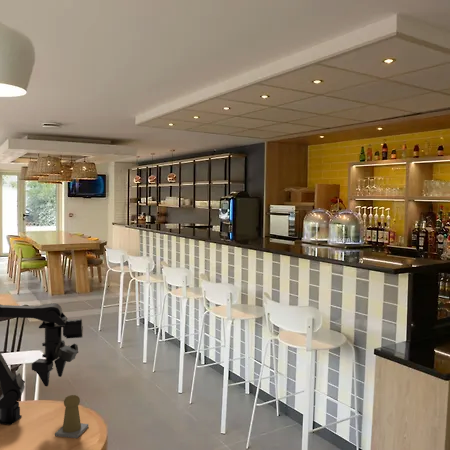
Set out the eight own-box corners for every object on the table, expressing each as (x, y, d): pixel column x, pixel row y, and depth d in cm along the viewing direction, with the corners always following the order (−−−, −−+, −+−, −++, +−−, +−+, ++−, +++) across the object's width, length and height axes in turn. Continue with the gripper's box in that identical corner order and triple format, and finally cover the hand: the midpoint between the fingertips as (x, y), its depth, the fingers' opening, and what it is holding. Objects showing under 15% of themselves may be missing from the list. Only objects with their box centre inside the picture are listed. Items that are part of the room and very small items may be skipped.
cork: (73, 433, 153) (73, 401, 152) (58, 430, 155) (58, 398, 154) (84, 425, 159) (84, 394, 158) (70, 422, 161) (70, 391, 160)
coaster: (55, 436, 153) (55, 433, 153) (67, 424, 161) (67, 421, 161) (77, 438, 152) (77, 435, 152) (88, 426, 160) (88, 424, 160)
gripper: (60, 348, 155) (60, 393, 156) (85, 333, 174) (86, 373, 174) (30, 346, 157) (30, 391, 158) (58, 331, 175) (59, 371, 176)
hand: (53, 381), depth 167 cm, fingers open, 9 cm apart
